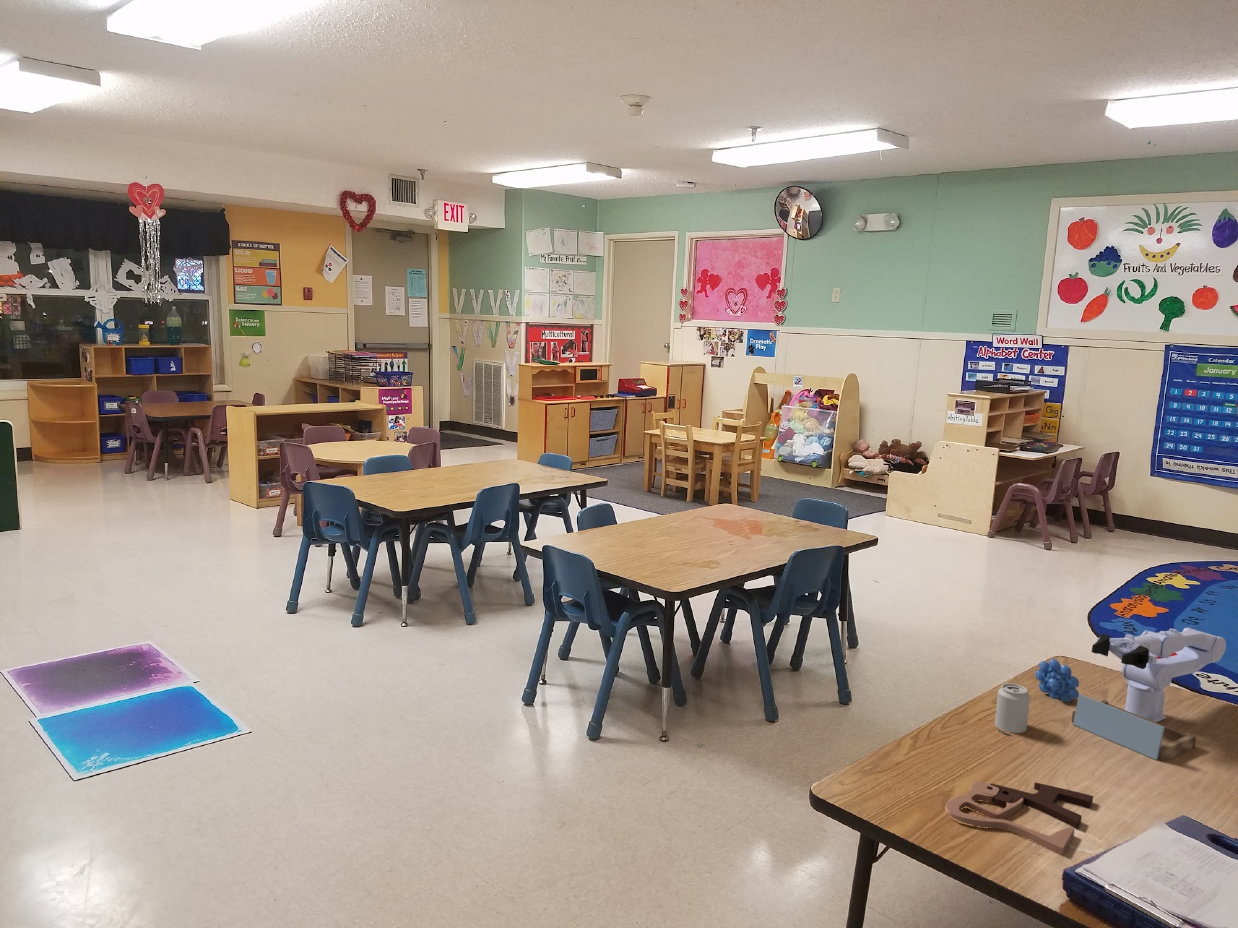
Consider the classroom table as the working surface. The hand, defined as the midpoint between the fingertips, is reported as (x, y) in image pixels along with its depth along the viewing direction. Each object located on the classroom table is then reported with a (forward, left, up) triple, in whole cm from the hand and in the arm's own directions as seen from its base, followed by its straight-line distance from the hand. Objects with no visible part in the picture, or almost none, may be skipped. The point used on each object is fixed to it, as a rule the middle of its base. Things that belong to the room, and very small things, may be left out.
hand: (1108, 653), depth 226 cm
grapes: (-7, -17, -22) cm, 29 cm away
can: (+19, -12, -22) cm, 31 cm away
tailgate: (+3, +6, -20) cm, 21 cm away
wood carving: (+50, +12, -22) cm, 56 cm away
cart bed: (-4, +6, -22) cm, 23 cm away
